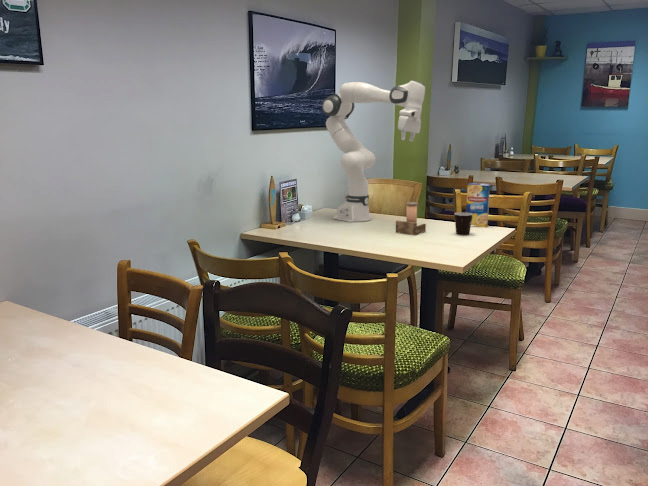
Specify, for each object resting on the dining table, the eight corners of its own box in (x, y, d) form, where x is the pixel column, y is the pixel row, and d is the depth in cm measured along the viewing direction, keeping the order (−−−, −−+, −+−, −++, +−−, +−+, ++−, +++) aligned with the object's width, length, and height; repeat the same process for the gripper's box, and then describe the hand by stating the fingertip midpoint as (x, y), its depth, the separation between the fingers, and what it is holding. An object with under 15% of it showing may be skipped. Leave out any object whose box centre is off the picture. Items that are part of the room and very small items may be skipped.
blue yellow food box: (487, 227, 283) (489, 185, 278) (465, 226, 287) (467, 184, 282) (487, 224, 290) (490, 183, 285) (466, 223, 293) (468, 183, 288)
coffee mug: (459, 231, 275) (460, 211, 272) (474, 233, 269) (475, 213, 266) (447, 235, 267) (447, 215, 265) (462, 237, 261) (463, 217, 259)
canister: (403, 232, 275) (404, 203, 272) (409, 230, 279) (409, 201, 276) (413, 233, 272) (413, 204, 268) (418, 231, 276) (419, 202, 272)
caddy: (395, 232, 275) (395, 220, 273) (406, 229, 282) (406, 217, 281) (415, 235, 268) (415, 223, 266) (425, 231, 275) (425, 220, 274)
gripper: (414, 115, 287) (409, 141, 290) (398, 110, 270) (392, 138, 273) (425, 116, 284) (420, 143, 286) (409, 112, 267) (404, 140, 269)
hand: (406, 140), depth 279 cm, fingers open, 8 cm apart
